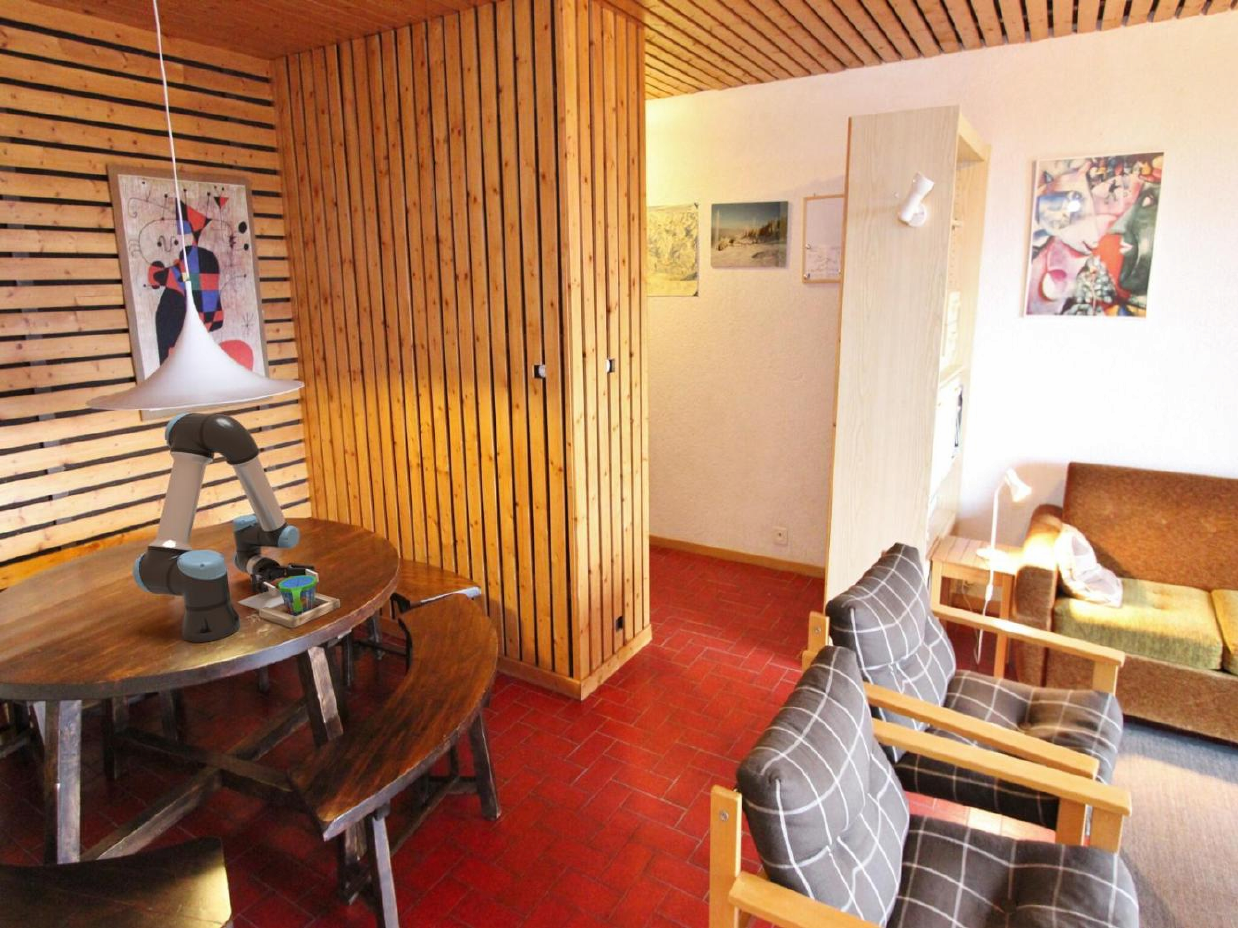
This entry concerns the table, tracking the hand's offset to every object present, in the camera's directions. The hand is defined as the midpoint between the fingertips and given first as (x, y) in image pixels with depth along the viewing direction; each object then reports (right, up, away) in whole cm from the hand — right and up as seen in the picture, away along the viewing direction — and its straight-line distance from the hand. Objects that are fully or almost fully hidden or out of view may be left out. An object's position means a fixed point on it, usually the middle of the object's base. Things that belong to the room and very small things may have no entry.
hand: (296, 584), depth 232 cm
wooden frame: (+2, -8, -1) cm, 9 cm away
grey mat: (-12, -6, +8) cm, 16 cm away
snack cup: (+2, -9, -1) cm, 9 cm away
